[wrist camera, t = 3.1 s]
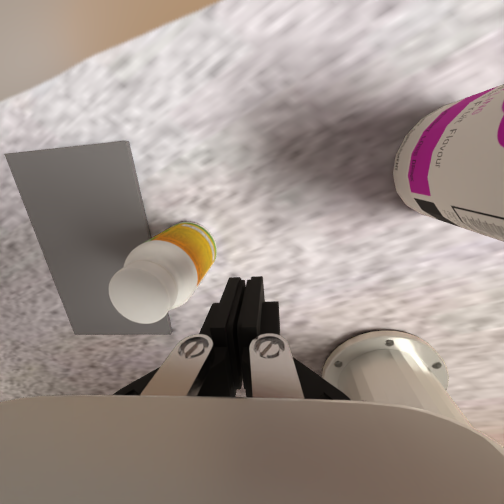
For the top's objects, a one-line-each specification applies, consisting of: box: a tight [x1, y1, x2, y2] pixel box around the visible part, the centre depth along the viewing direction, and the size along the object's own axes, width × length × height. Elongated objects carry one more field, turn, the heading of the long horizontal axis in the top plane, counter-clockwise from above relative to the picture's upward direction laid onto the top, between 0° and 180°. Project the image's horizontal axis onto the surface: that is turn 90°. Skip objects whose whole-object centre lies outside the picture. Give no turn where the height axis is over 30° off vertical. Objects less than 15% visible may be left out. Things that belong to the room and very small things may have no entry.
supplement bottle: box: [109, 222, 217, 324], centre depth 19 cm, size 5×5×10 cm
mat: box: [5, 141, 172, 335], centre depth 25 cm, size 20×12×1 cm, turn 5°
